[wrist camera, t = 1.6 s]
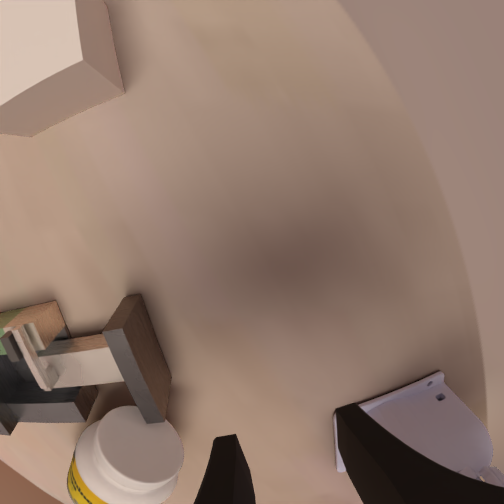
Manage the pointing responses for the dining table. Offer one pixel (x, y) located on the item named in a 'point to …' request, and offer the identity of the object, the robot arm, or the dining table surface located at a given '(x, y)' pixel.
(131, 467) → the pill bottle
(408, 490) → the robot arm
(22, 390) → the gauge housing
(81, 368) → the bar with square endplate
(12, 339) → the small grey rectangular block
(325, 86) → the dining table surface
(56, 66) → the white cube
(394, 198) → the dining table surface
